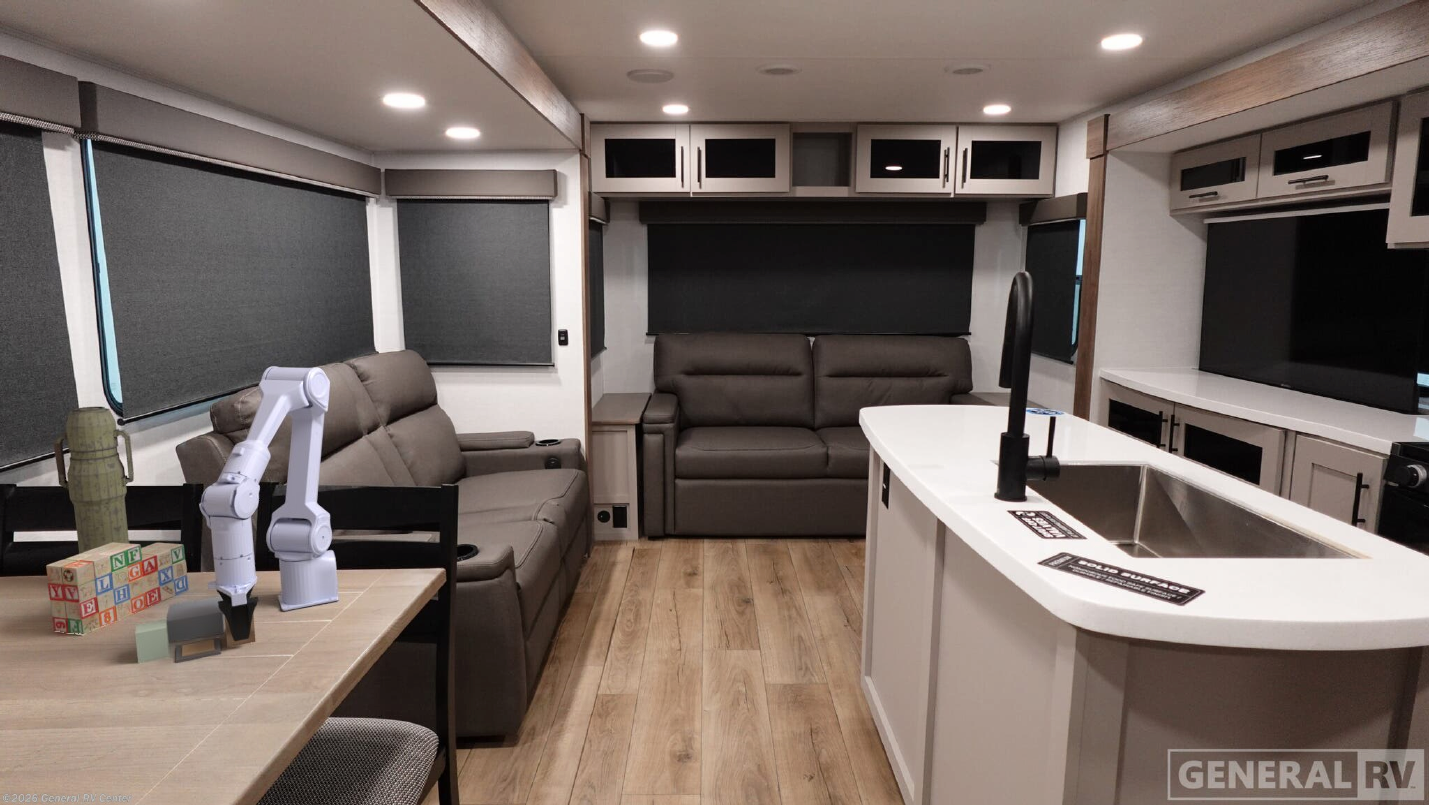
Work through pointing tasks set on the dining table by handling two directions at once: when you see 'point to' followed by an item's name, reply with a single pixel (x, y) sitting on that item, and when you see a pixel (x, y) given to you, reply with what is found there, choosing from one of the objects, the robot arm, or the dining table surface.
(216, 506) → the robot arm
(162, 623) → the sage green block
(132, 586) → the stack of blocks
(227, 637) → the walnut block
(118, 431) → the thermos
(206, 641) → the card
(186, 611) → the slate base block
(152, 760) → the dining table surface
